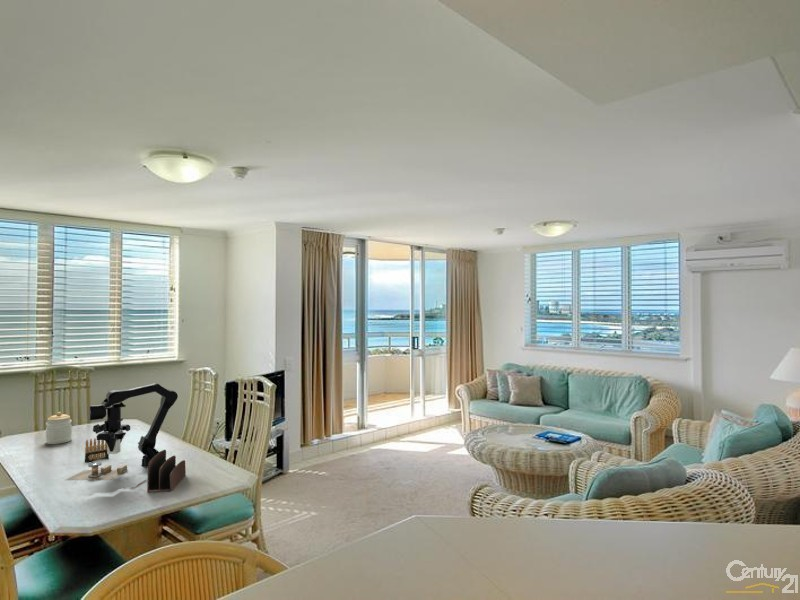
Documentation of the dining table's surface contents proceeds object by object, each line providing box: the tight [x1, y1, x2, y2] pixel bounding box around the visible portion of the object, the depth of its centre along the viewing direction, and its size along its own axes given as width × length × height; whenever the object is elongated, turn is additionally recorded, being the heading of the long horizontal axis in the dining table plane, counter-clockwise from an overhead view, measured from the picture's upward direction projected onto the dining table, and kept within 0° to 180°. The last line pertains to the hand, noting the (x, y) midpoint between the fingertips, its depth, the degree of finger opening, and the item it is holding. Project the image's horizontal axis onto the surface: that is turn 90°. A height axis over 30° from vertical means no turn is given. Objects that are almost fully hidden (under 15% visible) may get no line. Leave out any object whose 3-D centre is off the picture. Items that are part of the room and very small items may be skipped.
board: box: [65, 469, 121, 481], centre depth 230 cm, size 21×14×2 cm, turn 90°
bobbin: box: [87, 461, 102, 478], centre depth 229 cm, size 5×5×6 cm
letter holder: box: [146, 449, 187, 493], centre depth 222 cm, size 10×20×14 cm, turn 6°
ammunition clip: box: [84, 438, 110, 464], centre depth 257 cm, size 11×2×12 cm, turn 131°
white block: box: [107, 439, 121, 455], centre depth 234 cm, size 4×4×6 cm
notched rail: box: [100, 464, 128, 475], centre depth 234 cm, size 10×5×2 cm, turn 90°
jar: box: [45, 411, 73, 445], centre depth 295 cm, size 13×13×18 cm
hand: (114, 450), depth 234 cm, fingers closed on white block, 4 cm apart
